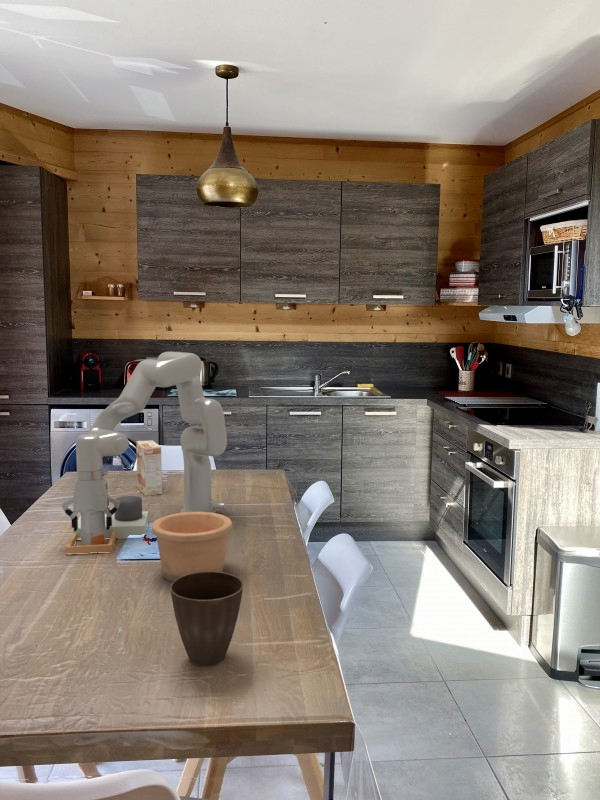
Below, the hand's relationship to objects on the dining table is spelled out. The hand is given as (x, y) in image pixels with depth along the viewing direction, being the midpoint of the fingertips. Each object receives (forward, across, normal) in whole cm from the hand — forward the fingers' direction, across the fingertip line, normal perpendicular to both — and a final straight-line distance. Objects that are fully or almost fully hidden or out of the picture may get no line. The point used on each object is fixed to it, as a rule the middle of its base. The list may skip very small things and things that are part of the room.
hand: (92, 529), depth 211 cm
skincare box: (+6, 0, 0) cm, 6 cm away
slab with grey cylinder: (+5, -4, -7) cm, 10 cm away
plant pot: (+6, -33, +74) cm, 81 cm away
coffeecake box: (+6, -13, -64) cm, 66 cm away
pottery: (+6, -30, +26) cm, 40 cm away
